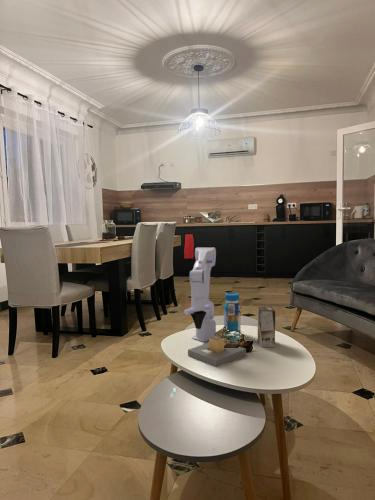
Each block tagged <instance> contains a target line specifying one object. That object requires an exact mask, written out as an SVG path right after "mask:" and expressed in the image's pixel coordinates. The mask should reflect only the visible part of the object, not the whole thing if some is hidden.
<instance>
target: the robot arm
mask: <svg viewBox="0 0 375 500" xmlns="http://www.w3.org/2000/svg"><path fill="white" fill-rule="evenodd" d="M216 256H217V249H216V247H199V246H197V247H196V248H195V250H194V257H195V262H194V264H193V268H192V270H190V271H189V283H190V284H189V285H190V290H191V291H190V292H191V293H190V295H191V297H190V298H191V301H190V303H191V307H188V308H186V309H184V310H183V314H184V315H186V316H189V315H190V316H191V317H192V320H193V324H194V326H195V336H192V337H191V339H193V340H197V341H200V342H202V343H204V342H207V341H208V342H209V338H211V337H215V335H214V334H215V333H216V334H217V326H216V325H217V324H216V321H215V304H214V302H213V301H211V300H210V299H209V298H210V297H209V296H210V284H211V283H210V282H211V270H212V267H215V266H216V260H217V259H216Z"/></svg>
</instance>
